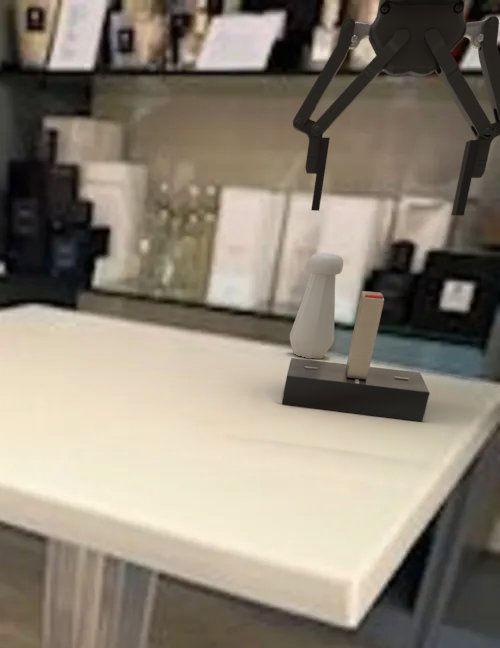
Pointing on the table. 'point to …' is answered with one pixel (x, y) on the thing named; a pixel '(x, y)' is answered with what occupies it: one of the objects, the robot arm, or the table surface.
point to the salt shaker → (317, 308)
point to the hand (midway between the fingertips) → (384, 213)
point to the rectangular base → (356, 390)
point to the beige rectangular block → (364, 335)
